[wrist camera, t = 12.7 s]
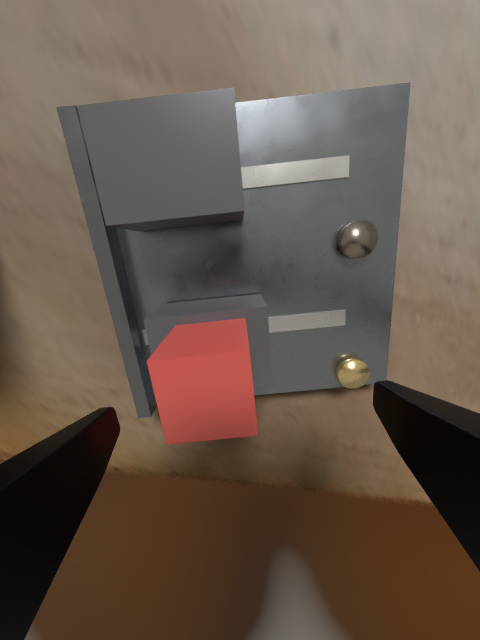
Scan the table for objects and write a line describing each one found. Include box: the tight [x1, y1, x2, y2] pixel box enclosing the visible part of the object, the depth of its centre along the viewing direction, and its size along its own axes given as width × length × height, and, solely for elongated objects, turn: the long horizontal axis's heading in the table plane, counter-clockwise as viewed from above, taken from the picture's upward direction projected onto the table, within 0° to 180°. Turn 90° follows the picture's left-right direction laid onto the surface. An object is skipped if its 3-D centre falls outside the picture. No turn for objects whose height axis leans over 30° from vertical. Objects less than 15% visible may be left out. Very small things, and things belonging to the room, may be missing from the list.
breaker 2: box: [143, 294, 273, 387], centre depth 16 cm, size 7×5×4 cm
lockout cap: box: [147, 318, 258, 444], centre depth 12 cm, size 4×4×4 cm
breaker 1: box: [77, 87, 245, 231], centre depth 13 cm, size 7×5×4 cm
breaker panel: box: [57, 83, 410, 418], centre depth 17 cm, size 20×20×4 cm
